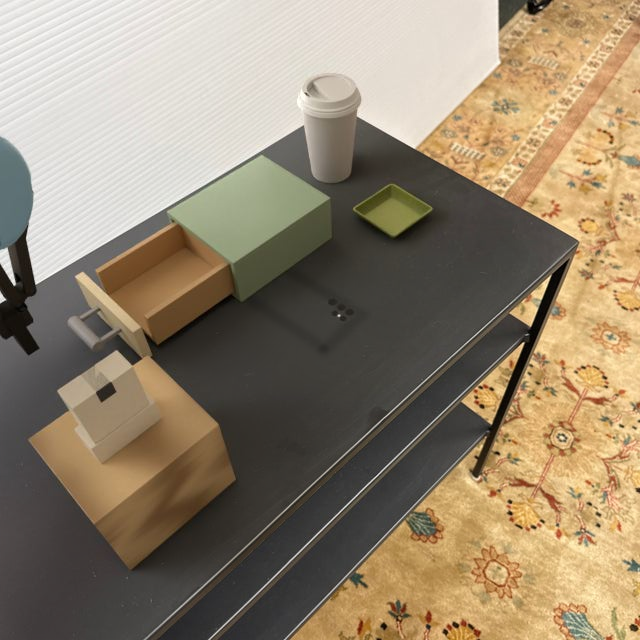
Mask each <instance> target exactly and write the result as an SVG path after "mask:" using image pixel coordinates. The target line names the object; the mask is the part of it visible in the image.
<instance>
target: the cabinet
mask: <svg viewBox="0 0 640 640" xmlns="http://www.w3.org/2000/svg"><path fill="white" fill-rule="evenodd" d="M166 214H167V219H168V222H169V225H170V224H172V223H173V222H176V223H178V224H179V225H180V226H181V227H183V228H184V229H185V230H187V231H188V232H189V233H190V234H192V235H193V236H194V237H196V238H197V239H198V240H199V241H201V242H202V243H203V244H205V245H206V246H207V247H208V248H210V249H211V250H212V251H214V252H215V253H216V254H217V255H219V256H220V257H221V258H223V259H224V260H225V261H226V262H228V263H229V264H230V265H231V270H232V274H233V279H234V284H235V289H236V290H235V291H234V292H233V293H231V294H230V295H231V296H232V297H234V298H235V299H236V300H238V302H240V303H242V302H244V301H245V300H247V299H248V298H250V297H251V296H252V295H254V294H255V293H257V292H258V291H260V290H261V289H263V288H264V287H265V286H266V285H268V284H269V283H271V282H272V281H274V280H275V279H276V278H278V277H279V276H280V275H282V274H284V272H286V271H287V270H289V269H290V268H292V267H293V266H295V265H296V264H297V263H299V262H300V261H302V260H303V259H304V258H306V257H307V256H309V255H310V254H311V253H312V252H314V251H315V250H317V249H318V248H319V247H320V248H321V246H322V245H324V244H325V243H327V242H328V241H330V240H331V239H333V230H332V227H333V226H332V201H331V197H330V196H328V195H327V194H325V193H324V192H323V191H320V190H319V189H317V188H316V187H315V186H312V185H311V184H309V183H308V182H306V181H304V180H303V179H301V178H299V177H298V176H297V175H295V174H294V173H292V172H290V171H288V170H287V169H286V168H283V166H281V165H279V164H277V163H275V162H274V161H272V160H271V159H270V158H268V157H266V156H265V155H263V154H261V155H259V156H258V157H256V158H255V159H252V160H251V161H248V163H246V164H245V165H242V166H241V167H239V168H237V169H236V170H234V171H233V172H231V173H229V174H228V175H225V176H224V177H222V178H221V179H219V180H218V181H215V182H214V183H213V184H210V185H209V186H208V187H206V188H204V189H202V190H200V191H198V192H197V193H195V194H194V195H192V196H190V197H189V198H187V199H186V200H184V201H182V202H180V203H179V204H177V205H175V206H174V207H172V208H170V209H169V210H167V211H166Z"/></svg>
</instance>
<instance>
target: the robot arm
mask: <svg viewBox="0 0 640 640" xmlns="http://www.w3.org/2000/svg"><path fill="white" fill-rule="evenodd" d="M33 207H34V190H33V185H32V173H31V170H30V167H29V164H28V162H27V160H26V158H25V157H24V155H23V154H22V152H21V151H20V149H19V148H18V146H16V145H15V144H14V143H13V142H11V140H9V139H7V138H6V137H4V136H3V135H0V251H1V250H5V249H7V253H8V256H9V261H10V265H11V270H12V273H13V278H14V283H15V284H14V283H13V282H12V280H11V279H10V276H9V275H8V273H7V272H6V269H4V267H3V265H2V264H1V263H0V294H1V295H2V297H3V298H4V300H3V301H1V302H0V337H1V338H2V340H6V341H7V340H8V339H11V337H13V339H14V340H15V342H16V344H18V346H19V347H20V348H21V349H22V350H23V351H24V353H25V354H26V355H27V356H28V357H29V356H31V355H32V354H34V353H35V352H37V351H39V350H40V349H41V348H40V346H39V344H38V343H37V341H36V340H35V338H34V337H33V335H32V333H31V332H30V330H29V328H28V327H29V326H30V325H32V324H34V317H33V316H32V314H31V312H30V310H29V308H28V307H29V306H28V305H27V303H26V300H27V299H29V298H31V297H34V296H36V294H37V293H38V290H37V284H36V279H35V274H34V270H33V265H32V260H31V255H30V250H29V246H28V241H27V235H28V230H29V226H30V220H31V216H32V213H33Z"/></svg>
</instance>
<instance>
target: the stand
mask: <svg viewBox="0 0 640 640" xmlns="http://www.w3.org/2000/svg"><path fill="white" fill-rule="evenodd" d="M132 366H133V368H134V370H135V372H136V374H137V376H138V379H139V381H140V383H141V385H142V387H143V389H144V390H145V391H146V392H147V393H148V395H149V396H150V397H151V398H152V399H153V400H154V401H155V402H156V404H157V407H158V409H159V411H160V413H161V416H162V419H160V420H159V421H158V422H156V423H155V424H154V425H152V426H151V427H150V428H149V429H147V430H146V431H145V432H143V433H142V434H141V435H139V436H138V437H137V438H135V439H134V440H133V441H131V442H130V443H129V444H127V445H126V446H125V447H124V448H122V449H121V450H120V451H118V452H117V453H116V454H114V455H113V456H112V457H110V458H109V459H108V460H106V461H105V462H104V463H102V464H100V463H99V461H98V460H97V459H96V458H95V457H94V455H93V454H92V453H91V452H90V451H89V450H88V448H87V447H86V446H85V445H84V443H83V442H82V440H81V439H80V437H79V436H78V434H77V433H76V431H75V428H76V427H78V426H79V425H78V423H77V421H76V420H75V418H74V417H73V415H72V414H71V412H70V410H69V409H68V411H66V412H65V413H63V414H62V415H60V416H59V417H58V418H56V419H55V420H53V421H52V422H51V423H48V425H46V426H45V427H43V428H41V430H39V431H37V432H36V433H35V434H33V435H32V436H30V437H29V438H28V441H29V443H30V444H31V446H32V447H33V448H34V450H35V452H37V453H38V455H39V456H40V457H41V458H42V460H43V461H44V463H45V464H46V465H47V466H48V468H49V469H50V471H52V472H53V474H54V475H55V477H56V478H57V479H58V481H60V483H61V484H62V486H63V487H64V488H65V489H66V491H67V492H68V494H69V495H70V497H72V499H73V500H74V501H75V502H76V504H77V505H78V506H79V507H80V509H81V510H82V511H83V513H84V514H85V515H86V516H87V518H88V519H89V521H91V523H92V524H93V526H94V527H95V528H96V529H97V531H98V532H99V533H100V534H101V536H102V537H103V538H104V539H105V540H106V542H107V543H108V544H109V545H110V547H111V548H112V549H113V551H114V553H116V554H117V555H118V557H119V558H120V559H121V561H122V562H123V564H124V565H125V566H126V567H127V568H128V570H129V571H132V570H133V569H134V568H135V567H136V566H137V565H138V564H140V563H141V562H142V561H144V560H145V558H147V557H148V556H149V555H150V554H151V553H153V551H155V550H156V549H157V548H158V547H159V546H161V545H162V544H163V543H164V542H165V541H167V540H168V539H169V538H170V537H171V536H172V535H173V534H175V533H176V532H177V531H178V530H179V529H181V528H182V527H183V526H184V525H185V524H187V522H188V521H190V520H191V519H192V518H193V517H195V515H197V514H198V513H199V512H200V511H201V510H202V509H203V508H204V507H206V506H207V505H209V504H210V503H211V502H212V501H213V500H214V499H215V498H217V497H218V496H219V495H220V494H221V493H222V492H224V491H225V490H226V489H227V488H228V487H229V486H230V485H231V484H233V483H234V482H235V481H236V479H237V477H236V476H235V472H234V469H233V466H232V462H231V459H230V456H229V453H228V449H227V447H226V443H225V440H224V437H223V434H222V431H221V427H220V424H219V423H218V422H217V421H216V420H215V419H214V418H213V417H212V416H211V415H210V414H209V413H208V412H207V411H206V410H205V409H204V408H203V407H202V406H201V405H199V403H198V402H197V401H196V400H195V399H194V398H193V397H191V395H189V394H188V393H187V391H186V390H184V389H183V388H182V387H181V386H180V385H179V384H178V382H176V381H175V380H174V379H173V378H172V377H171V376H170V375H169V374H168V373H167V372H166V371H165V370H164V369H163V368H162V367H161V366H160V365H159V364H158V363H157V362H156V361H155V360H154V359H153V358H151V357H149V356H146V357H145V358H143V359H142V358H141V359H140V360H139V361H138V362H136V363H134V364H132Z"/></svg>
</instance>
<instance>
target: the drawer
mask: <svg viewBox="0 0 640 640" xmlns="http://www.w3.org/2000/svg"><path fill="white" fill-rule="evenodd" d="M95 274H96V277H98V280H99V282H100V284H101V287H102V288H101V287H100V286H99V285H98V284H97V283H95V281H93V279H92V278H90V277H89V276H88V275H87V274H86V273H85V272H84V271H81V272H79V273H78V274H77V275H75V276H74V277H75V280H76V282H77V284H78V287H79V288H80V290H81V292H82V294H83V296H84V298H85V300H86V302H87V304H88V307H90V308H91V309H89V310H87V311H86V312H84V313H83V314H81V315H80V316H78V315H73V316H71V317H69V319H68V320H67V326H68V327H69V328H70V329H71V330H72V331H73V332H74V333H75V334H76V335H77V336H78V337H79V339H81V340H82V341H83V342H84V343H85V345H86V346H87V347H89V349H90V350H91V351H92V352H94V353H98V352H100V351H102V350H103V349H104V347H105V344H106V343H107V342H108V341H110V340H111V339H113V338H115V337H116V336H117V335H118V336H119V337H120V338H121V339H122V340H123V341H124V342H125V344H127V345H128V346H129V347H130V348H131V349H132V350H133V351H134V352H135V353H136V354H137V355H138V356H139V357H140V358H141V360H142V359H143V358H145V357H146V356H149V357H150V358H151V357H153V353H152V351H151V348H150V346H149V343H148V341H147V338H146V336H147V337H148V338H149V339H150V340H151V341H152V342H154V343H155V344H156V345H157V346H159V344H160V345H161V343H162V342H164V341H166V340H167V339H168V338H170V337H172V336H173V335H175V334H176V333H177V332H178V331H180V330H181V329H183V328H184V327H185V326H187V325H189V324H190V323H191V322H193V321H194V320H195V319H197V318H198V317H199V316H201V315H203V314H204V313H205V312H207V311H208V310H210V309H212V308H213V307H214V306H215V305H217V304H218V303H220V302H221V301H223V300H224V299H225V298H227V297H228V296H230V295H232V294H231V293H233V292H234V291H235V290H236V289H235V284H234V279H233V274H232V270H231V265H230V264H229V263H228V262H226V261H225V260H224V259H223V258H221V257H220V256H219V255H217V254H216V253H215V252H214V251H212V250H211V249H210V248H208V247H207V246H206V245H205V244H203V243H202V242H201V241H199V240H198V239H197V238H196V237H194V236H193V235H192V234H190V233H189V232H188V231H187V230H185V229H184V228H183V227H181V226H180V225H179V224H178V223H176V222H173V223H172V224H170V223H169V225H167V226H164V227H163V228H162V229H159V230H158V231H157V232H155V233H154V234H152V235H150V236H148V237H147V238H145V239H143V240H142V241H140V242H139V243H137V244H135V245H134V246H132V247H131V248H129V249H127V250H125V251H124V252H122V253H121V254H119V255H117V256H116V257H114V258H112V259H111V260H109V261H108V262H106V263H104V264H102V265H101V266H99V267H98V268H95ZM96 314H97V315H98V317H100V318H101V320H103V321H104V322H105V323H106V324H107V325H108V326H109V327H110V328H111V329H112V330H110V331H109V332H107V333H106V334H104V335H103V336H101V337H98V336H97V334H96V333H95V332H94V331H93V330H92V329H91V328H90V327H89V326H88V325H87V324H86V322H85V321H87V320H88V319H90V318H92V317H93V316H95V315H96ZM145 335H146V336H145Z"/></svg>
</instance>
